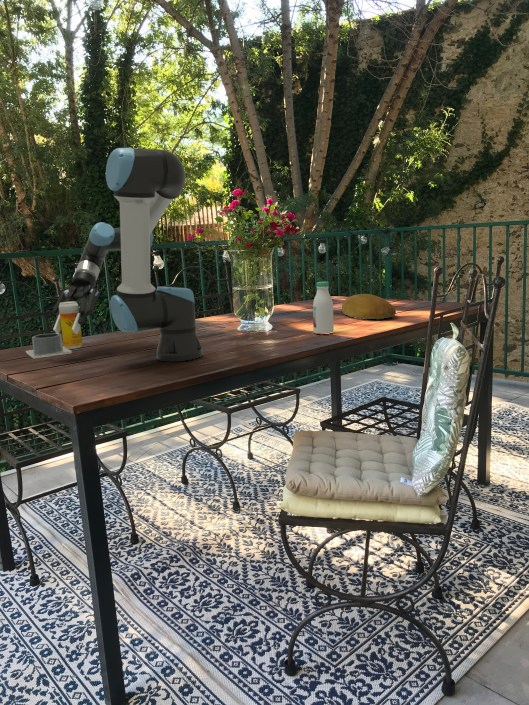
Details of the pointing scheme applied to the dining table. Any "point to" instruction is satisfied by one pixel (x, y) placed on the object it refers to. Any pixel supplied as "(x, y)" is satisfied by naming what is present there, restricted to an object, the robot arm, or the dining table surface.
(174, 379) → the dining table surface
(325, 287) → the milk bottle
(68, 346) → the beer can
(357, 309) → the bread
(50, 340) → the grey can holder
